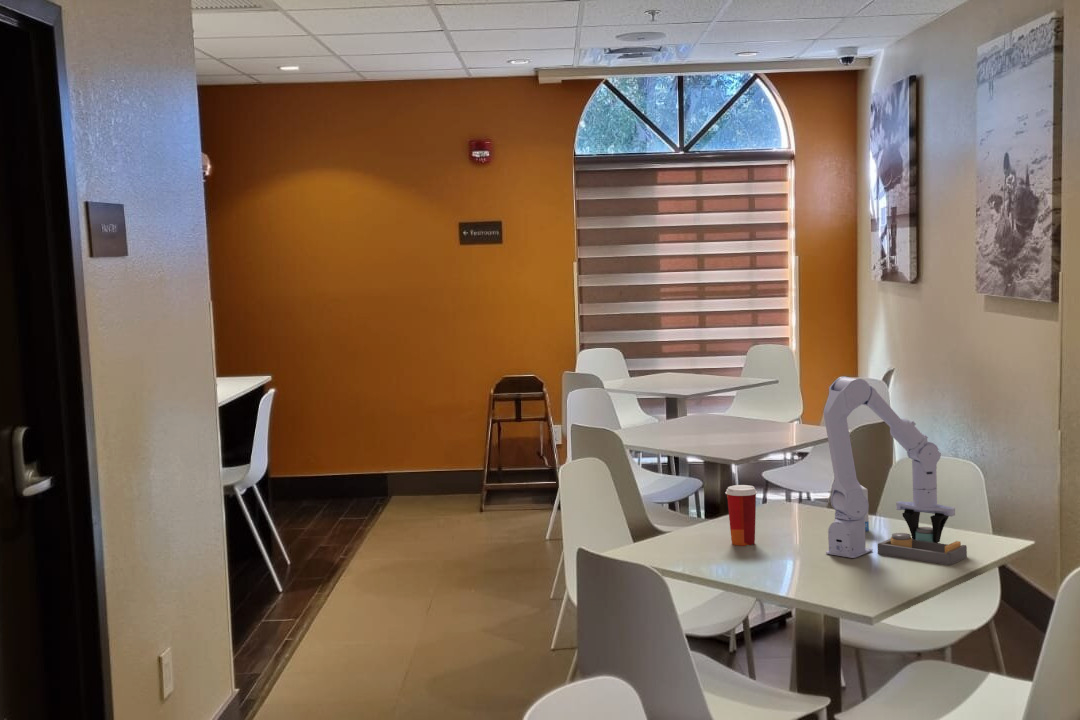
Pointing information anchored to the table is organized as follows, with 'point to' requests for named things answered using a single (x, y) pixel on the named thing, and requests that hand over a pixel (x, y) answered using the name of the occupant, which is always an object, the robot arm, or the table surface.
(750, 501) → the coffee cup
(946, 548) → the plate
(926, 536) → the teal jar
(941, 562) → the grey rectangular tray
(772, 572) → the table surface
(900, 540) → the amber jar
